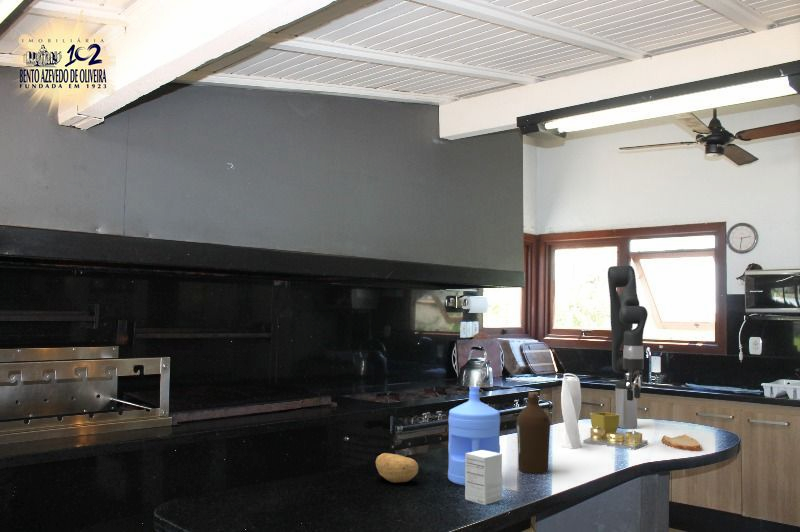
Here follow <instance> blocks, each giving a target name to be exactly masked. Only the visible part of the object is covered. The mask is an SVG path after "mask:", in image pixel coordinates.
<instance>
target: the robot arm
mask: <svg viewBox="0 0 800 532" xmlns="http://www.w3.org/2000/svg"><path fill="white" fill-rule="evenodd" d="M607 281H608V282H607V283H608V292H609V303H610V304H609V305H610V306H609V307H610V308H609V309H610V311H609V312H610V316H609V317H610V328H611V329H610V330H611V367H612V370H613V372H614V373H618V374H624V379H623V378H622V379H620V380H617V381H615V385H614V387H615V414H618V415H619V424H618V428H619V427H620V429H628V428H630V429H632V428H633V429H637V428H638V399H641V388H642V387H643V386H644V385H643V370H644V367H645V362H644V361H645V357H644V355H645V354H644V352H645V351H644V339H643V338H644V330H645V327H646V323H647V319H648V315H649V313H648V310H647V309H646V307H644V306H643V305H640V300H639V297H638V294H637V293H638V291H637V279H636V273H635V269H634V267H633V266H632V265H627V264H626V265H624V264H623V265H613V266H610V267H609V268H608V269H607ZM617 288H622V289H621V291H620V294H619V292H618V290H617ZM634 325H637V326H636V327H635V328H633V326H634ZM622 345H623V350H622V351H623V352H622V351H621V352H620V350H621V348H622Z"/></svg>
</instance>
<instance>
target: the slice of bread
mask: <svg viewBox="0 0 800 532" xmlns="http://www.w3.org/2000/svg"><path fill="white" fill-rule="evenodd" d="M661 444H662V445H664V444H665V445H664V446H666V445H667V446H666V447H669V446H670V448H672V447H673V449H677V450H682V451H689V452H702V451H703V449H702V446H701V443H700V442H699V441H698V440H696V439H694V438H693V437H691V436H689V435H686V434H685V433H684V434H681V435H678V436H674V437H670V436H667V435H663V436H662V438H661Z"/></svg>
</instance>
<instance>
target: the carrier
mask: <svg viewBox="0 0 800 532" xmlns="http://www.w3.org/2000/svg"><path fill="white" fill-rule="evenodd" d="M589 430H590V433H589V435H590V436H589V437H587V438H585V439H583V444H586V443H588V444H589V445H594V444H598V445H597V446H602V445H607V446H606V447H609V446H615V447H614V448H617V447H622V448H621V449H625V448H631V449H630V450H632V449H635V450H637V449H639V448H641V447H643V446H642V445H644V444H646V445H647V443H648V439H647V440H646V439H642V443H641V444H631V443H627V442H626V433H621V432H616V433H614V432H610V433H606V435H605V429H603V428H600V427H596V428H593V427H590V429H589ZM631 432H632V434H636V432H637V431H636V430H631ZM588 444H587V445H588ZM640 446H641V447H640ZM644 446H645V445H644ZM638 447H639V448H638ZM636 448H637V449H636Z"/></svg>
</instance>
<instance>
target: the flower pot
mask: <svg viewBox="0 0 800 532" xmlns="http://www.w3.org/2000/svg"><path fill="white" fill-rule="evenodd" d="M589 416H590V417H589V418H590V423H591V428H596V427H600V428H603V429H605V435H606V433H610V432H614V433H617V430H618V429H619V427H618V424H619V415H618V414H616V413H611V412H603V411H602V412H590V413H589Z"/></svg>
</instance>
